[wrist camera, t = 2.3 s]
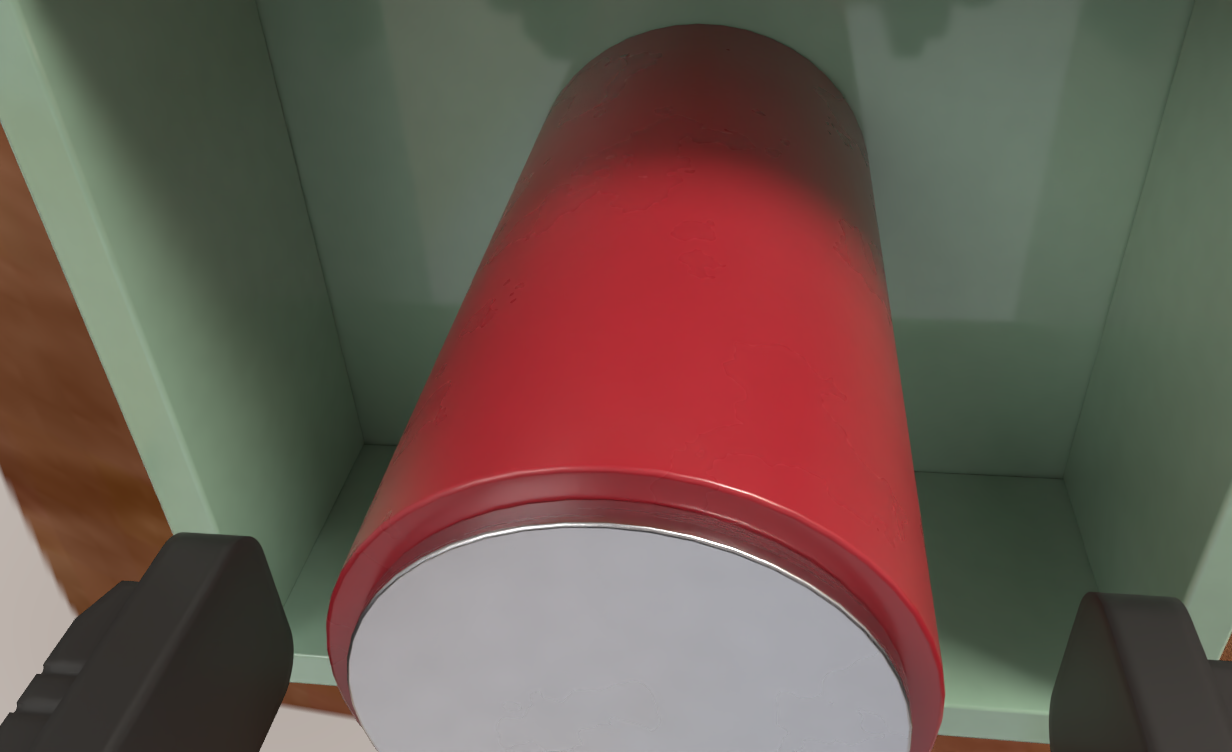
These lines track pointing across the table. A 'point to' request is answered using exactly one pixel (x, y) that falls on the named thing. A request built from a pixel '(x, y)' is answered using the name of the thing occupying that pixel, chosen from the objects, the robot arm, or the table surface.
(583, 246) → the can
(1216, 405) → the open box
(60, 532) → the table surface
